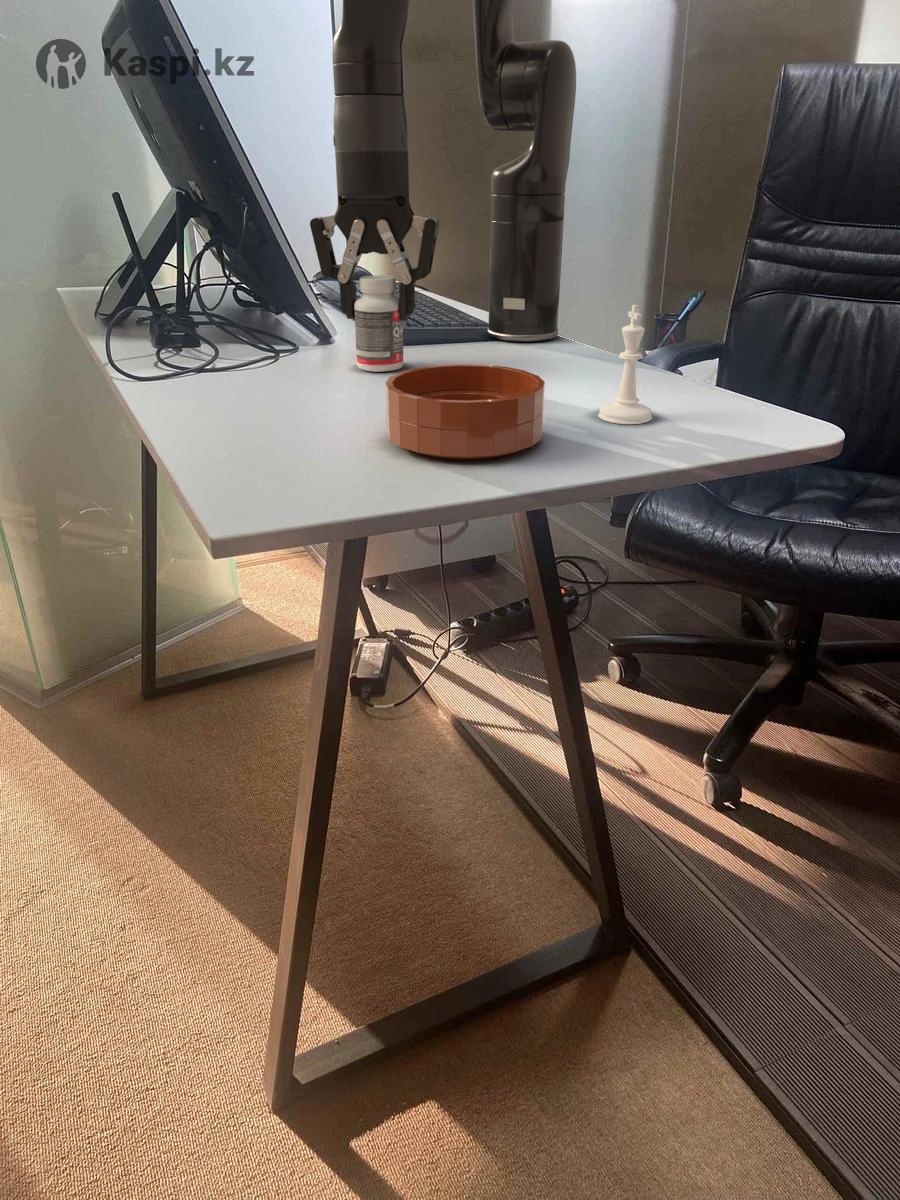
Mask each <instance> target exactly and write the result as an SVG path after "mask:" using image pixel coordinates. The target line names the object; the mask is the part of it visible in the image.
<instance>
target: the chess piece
mask: <svg viewBox="0 0 900 1200" xmlns="http://www.w3.org/2000/svg"><path fill="white" fill-rule="evenodd" d="M639 311H640V305H639V304H632V306H631V310H629V311H628V315H627V316H628V317H629V318H630V324H628V325H625V326H623V327H622V328H621V333H622V334H621V335H622V337H623V342H624V343H623V344H624V347H625V350H624V351H622V352H619V354H618V358H619V359H621V360H624V365H623V371H622V376H621V379H620V380H621V381H620V385H619V389H618V393H617V396H615V397H614V398H613V400H614V401H611V402H608V403H605V404H602V406H600V407H599V413H598V417H599V419H601V420H603V421H605V422H608V423H612V424H619V425H640V424H646V423H648V422H650V421H651V420H652V419H653V416H652V413H653V411H652V409H651V408H650V407H649V406H647V405H645V404H642V403H640V399H639V398H638V397H637V382H636V380H637V378H636V377H637V375H636V373H637V372H636V368H637V367H636V362H637V361H638V360H642V359H643V358H644V357H643V353H641V352H639V351H638V348H639V346H640V344H641V341H642V339H643V336H644V335H645V331H646V329H645V327H643V326H641V325H639V324H638V321H639V320H642V313H639Z"/></svg>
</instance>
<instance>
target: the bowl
mask: <svg viewBox="0 0 900 1200" xmlns="http://www.w3.org/2000/svg"><path fill="white" fill-rule="evenodd" d="M384 383H385V408H386V411H385V412H386V433H387V437H388V438H389V441H390V442H392V443H393V444H395V445H397V446H398V447H400V448H402V449H406V450H409V451H412V452H414V453H416V454H420V455H424V456H428V457H433V458H439V459H447V460H483V459H492V458H497V457H504V456H507V455H511V454H513V453H516V452H519V451H523V450H525V449H528V448H531V447H533V446H534V445H536V444H537V443H538V442H539V441H541V440H542V436H543V426H544V407H545V406H544V405H545V403H544V402H545V386H546V385H545V384H546V382H545V380H544V379H543V378H541V377H540V376H539V375H537V374H535V373H532V372H529V371H527V370H523V369H519V368H515V367H514V368H513V367H509V366H502V365H494V364H493V365H492V364H474V363H473V364H471V363H470V364H469V363H456V364H454V363H453V364H438V365H436V364H435V365H430V366H420V367H417V368H416V367H415V368H411V369H406V370H403V371H400V372H398V373H395V374H393V375H391V376H389V377H388V379H387V380H386V381H385V382H384Z"/></svg>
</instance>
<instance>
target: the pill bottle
mask: <svg viewBox="0 0 900 1200" xmlns="http://www.w3.org/2000/svg"><path fill="white" fill-rule="evenodd" d="M396 280H397V279H396V277H395V276H393V275H385V274H384V275H382V274H381V275H380V274H379V275H376V274H375V275H364V276H360V277H359V279H358V281H359V282H358V283H359V284H358V285H359V286H358V289H359V292H360V293H361V296H360V297H358V298H357V300H356V301H355V303H354V315H355V318H354V331H355V335H354V336H355V352H356V366H357V367H358V369H361V370H362V371H367V372H376V373H377V372H379V373H381V372H391V371H396V370H399V369H402V367H403V366H404V325H403V321H404V320H401V319H400V299H399V297H396V296H395V294H394V293H395V292H396V289H397V282H396Z"/></svg>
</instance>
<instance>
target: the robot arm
mask: <svg viewBox="0 0 900 1200" xmlns="http://www.w3.org/2000/svg"><path fill="white" fill-rule="evenodd" d="M410 2H411V1H410V0H342V16H341V23H340V25H339V26H338V28H337V30H336V31H335V33H334V35H333V38H332V47H331V48H332V51H331V53H332V54H331V58H332V73H333V75H332V76H333V91H334V92H333V93H334V109H333V136H332V137H333V147H334V157H335V173H336V174H335V175H336V190H337V191H336V192H337V193H336V194H337V207H336V209H335V211H334V214H332V215H328V216H316V217H313V218H311V219H310V221H309V227H310V231H311V235H312V240H313V243H314V249H315V252H316V256H317V260H318V265H319V268H320V272H321V275H322V276H323V277H326V278H330V279H333V280H336V281H337V283H338V285H339V296H340V309H341V312H342V314H346V319H347V320H355V315H354V303H355V301H356V300H357V299H358V298H357V282H356V281H354V277H355V273H356V270H357V268H358V267H357V266H358V264H359V262H360V260H361V258H362V255H367V254H371V253H376V254H378V255H388V257H389V259H390V261H391V264H392V265H393V266H394V268H395V271H396V273H397V275H398V277H399V280H400V284H399V285H398V292H399V293H398V296H399V297H398V299H399V300H400V319H401V320H402V321H408V320H409V319H410V315H412V314H414V312H415V309H416V287H415V286H416V282H417V281H419V280H422V279H425V278H427V277H428V276H429V275H430V274H431V272H432V268H433V262H434V256H435V250H436V244H437V238H438V233H439V226H440V221H439V219H438V218H436V217H435V216H433V217H430V218H428V217H424V216H420V215H416V214H414V211H413V209H412V207H411V203H410V180H409V179H410V174H409V169H410V168H409V129H408V128H409V126H408V116H407V108H406V98H405V65H404V64H405V61H404V39H405V34H406V29H407V23H408V17H409V10H410V9H409V8H410ZM472 6H473V7H472V10H473V27H474V28H473V29H474V45H475V63H476V78H477V88H478V98H479V103H480V107H481V112H482V115H483V118H484V121H485V122H486V124H487V126H488V128H490V129H492V130H493V131H496V132H500V133H501V132H502V133H533V135H532V140H531V143H530V145H529V147H528V148H527V150H525V151H524V152H523V153H522V154H521V155H519V156H518V157H516V158H514V159H513V160H511V161H508V162H507V163H504V164H501V165H499V166H497V167H496V168H494V169H493V171H492V173H491V179H490V242H489V245H490V246H489V288H488V289H489V290H488V327H489V328H490V329H491V330H489V328H488V327H487V336H488V337H489V338H493V339H496V340H502V341H508V342H542V341H549V340H553V339H555V338H558V336H559V328H558V325H559V310H560V292H561V276H562V255H563V254H562V253H563V239H564V220H565V219H564V218H565V204H566V203H565V201H566V194H565V193H566V184H567V178H568V177H567V176H568V172H569V171H568V170H569V165H570V156H571V143H572V133H573V123H574V115H575V104H576V95H577V64H576V59H575V55H574V53H573V50H572V48H571V47H570V45H569V44H568V43H567V42H565V41H564V40H557V39H554V40H553V39H551V40H550V39H548V40H533V41H532V40H531V41H516V42H515V38H514V36H515V35H514V26H513V25H514V24H513V22H514V21H513V13H514V12H513V11H514V0H472ZM412 226H413V227H414V228H415V231H416V233H415V234H416V237H417V238H418V239H420V240H421V241H420V249H419V253H418V261H417V266H415V267H413V266H412V263H411V260H410V257H409V252H408V251H407V248H406V246H405V243H404V239H405V238H406V236H407V234H408V233H409V231H410V230H411V228H412ZM335 227H337V228H338V229H339V231H340V233H342V235H343V237H344V238H345V239H346V241H347V243H346V246H345V249H344V251H343V256H342V260H341V264H340V265H338V263H337V259H336V254H335V251H334V247H333V243H332V238H333V236H334V235H335Z"/></svg>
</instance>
